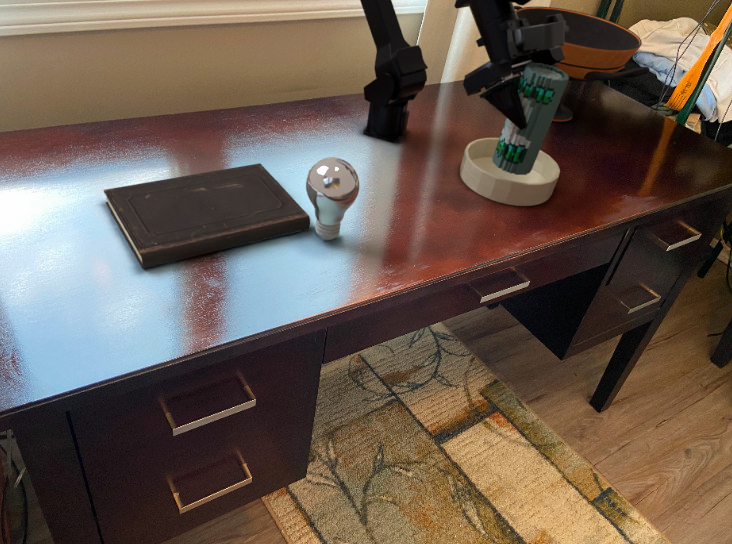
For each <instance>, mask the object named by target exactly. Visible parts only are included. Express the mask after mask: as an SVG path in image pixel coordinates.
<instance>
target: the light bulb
mask: <svg viewBox="0 0 732 544" xmlns="http://www.w3.org/2000/svg"><path fill="white" fill-rule="evenodd" d="M305 191H306V196H307V197H308V200H309V201H310V203H311V205H312V206H313V209H314V215H315V216H314V217H315V222H316V223H315V232H316V234H317V236H318V237H320V238H321V239H322V240H324V241H331V240H333V239H335V238H337V237H338V236H339V234H340V232H341V224H342V223H341V222H342V221H343V220H344V217H345V214H346V212H347V211H348V209H350V208H351V207H352V206H353V204H354V203H355V201H356V199H357V198H358V195H359V192H360V179H359V175H358V173H357V171H356V170H355V168H354V166H352V165H351V164H350V163H349V162H348V161H347V160H345V159H343V158H339V157H334V156H333V157H325V158H323V159H321V160H318V161H317V162H315V164H313V165H312V167H311V168H310V169H309V171H308V173H307V176H306V180H305Z"/></svg>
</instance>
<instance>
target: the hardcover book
mask: <svg viewBox="0 0 732 544" xmlns="http://www.w3.org/2000/svg"><path fill="white" fill-rule="evenodd" d="M103 194H104V195H105V197H106V198H105V199H106V200H107V201H105V205H106V207H107V209H108V210H109V212H110V214H111V216H112V218H113V219H114V221H115V223H116V224H117V227H118V228H119V230H120V232H121V234H122V235H123V237H124V239H125V241H126V242H127V244H128V246H129V248H130V250H131V251H132V253H133V255H134V256H135V258H136V260H137V262H138V263H139V265H140V267H141V269H146V268H150V267H155V266H160V265H164V264H168V263H172V262H176V261H181V260H185V259H190V258H193V257H197V256H201V255H206V254H209V253H215V252H219V251H223V250H228V249H230V248H236V247H239V246H245V245H248V244H252V243H255V242H260V241H265V240H269V239H274V238H277V237H281V236H285V235H290V234H294V233H298V232H302V231H306V230H309V229H310V228H311V217H310V215H309V214H308V213H307V212H306V211H305V210H304V209H303V208H302V207H301V205H300V204H299V203H298V202H297V201H296V200H295V199H294V198H293V197H292V196H291V194H290V193H289V192H288V191H286V189H285V188H284V187H283V186H282V184H280V182H279V181H277V179H276V178H275V177H274V176H273V175H272V174H271V173H270V172H269V171H268V170H267V169H266V167H264V165H263V164H262V163H254V164H248V165H241V166H235V167H230V168H224V169H219V170H212V171H206V172H201V173H196V174H189V175H184V176H183V175H182V176H177V177H171V178H166V179H161V180H153V181H147V182H142V183H136V184H135V183H134V184H129V185H124V186H118V187H112V188H111V187H110V188H106V189H103Z"/></svg>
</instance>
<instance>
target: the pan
mask: <svg viewBox="0 0 732 544" xmlns="http://www.w3.org/2000/svg"><path fill="white" fill-rule="evenodd" d="M499 138H500V137H483V138H478V139H475V140H473V141H471V142H469V143H468V144H467V145H466V147H465V149H464V152H463V155H462V160H461V164H460V167H459V168H460V169H459V175H460V178H461V180H462V181H463V183H464V184H465V185H466V186H467V187H468V188H469V189H470V190H472V191H473V192H474V193H476V194H478V195H479V196H482V197H484V198H486V199H489V200H491V201H494V202H496V203H501V204H504V205H509V206H517V207H530V206H531V207H532V206H537V205H541V204H544V203H546V202H547V201H548V200H549V199H550V198H551V196H552V195H553V193H554V190H555V187H556V184H557V182H558V179H559V176H560V173H561V169H560V167H559V164H558V162H556V160H554V158H553V157H552V156H550V155H549V154H547V153H546V152H544V151H543V150H541V149H540V151H539V153H538V156H537V158H536V161H535V163H534V165H533V168H532V170H531V172H530V173H527V175H515V174H514V173H509V172H506V171H503V170H502V169H501V168H498V167H497V166H496V165H495V164H494V163H493V162H492V161H493V159H492V158H493V155H494V152H495V150H496V147H497V144H498V141H499Z"/></svg>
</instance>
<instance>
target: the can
mask: <svg viewBox="0 0 732 544" xmlns="http://www.w3.org/2000/svg"><path fill="white" fill-rule="evenodd" d="M568 76H569V75H567V74H566V73H565V72H563V71H562V70H559V69H557V68H556V67H553V66H549V65H545V64H543V63H533V62H531V63H528V64H527V65H526V66H525V69H524V72H523V74H522V77H521V79H520V83H519V87H518V93H519V97H520V100H521V104H522V107H523V111H524V114H525V118H526V123H527V127H526V128H525V129H522V130H520V129H519V128H518V127H517V126H515V125H514V124H513V123H512V122H511V121H510V120H509V119H508V118H507V117H506V118H505V122H504V124H503V128H502V131H501V133H500V135H499V137H498V138H499V141H498V144H497V147H496V150H495V152H494V155H493V158H492V159H493V161H492V162H493V163H494V164H495V165H496V166H497V167H498V168H501V169H502V170H503V171H506V172H509V173H514V174H515V175H527V173H530V172H531V170H532V168H533V165H534V163H535V161H536V158H537V156H538V153H539V151H540V150H541V148H542V146H543V143H544V141H545V139H546V136H547V134H548V132H549V129H550V126H551V123H552V122H553V121H552V119H553V117H554V114H555V112H556V109H557V107H558V105H559V102H560V100H561V101H562V98H563V95H564V92H565V90H566V88H567V85H568V83H569V81H568V80H569V77H568Z"/></svg>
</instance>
